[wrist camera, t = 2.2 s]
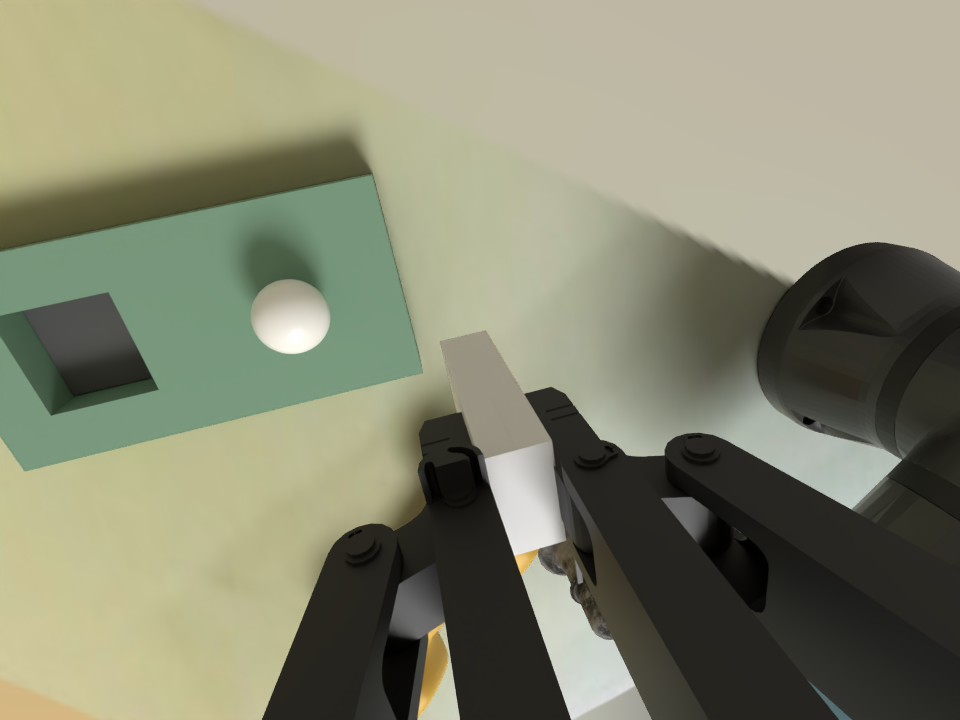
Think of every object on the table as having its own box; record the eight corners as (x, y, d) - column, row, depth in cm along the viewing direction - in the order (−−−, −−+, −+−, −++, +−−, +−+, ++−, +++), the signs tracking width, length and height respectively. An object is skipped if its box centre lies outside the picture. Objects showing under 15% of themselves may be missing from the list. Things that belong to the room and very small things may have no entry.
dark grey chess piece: (589, 478, 41) (666, 598, 30) (596, 532, 43) (669, 660, 33) (520, 498, 40) (573, 627, 30) (531, 551, 43) (583, 688, 32)
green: (372, 172, 29) (371, 175, 27) (419, 357, 34) (422, 372, 32) (-71, 264, 27) (-113, 275, 24) (49, 448, 32) (24, 471, 29)
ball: (320, 264, 28) (312, 281, 24) (341, 329, 30) (336, 355, 26) (248, 280, 28) (229, 300, 24) (274, 345, 29) (259, 373, 26)
